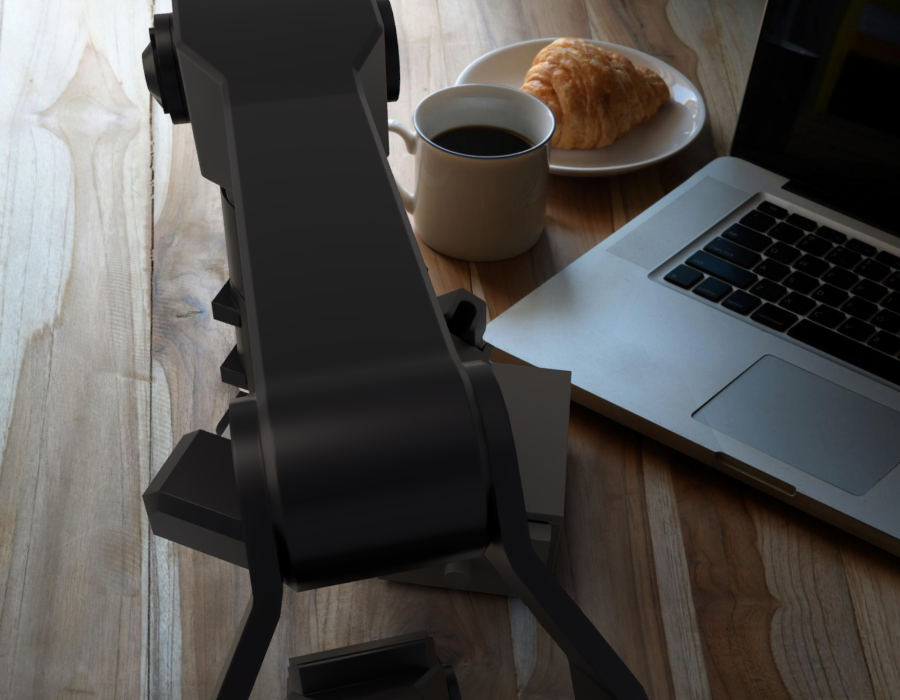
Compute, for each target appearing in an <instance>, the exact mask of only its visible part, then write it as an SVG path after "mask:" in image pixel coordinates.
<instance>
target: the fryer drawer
mask: <svg viewBox="0 0 900 700" xmlns="http://www.w3.org/2000/svg"><path fill="white" fill-rule="evenodd" d="M527 520H528V526H529V533H530V539H531V545H532V547H533V549H534V552H535V553H536V554H537V555H538V557H539V558H540V559H541V560H542V562H543V563H544V564H545V565H546V563H547V558H548V553H549V547H550V542H551V527H552V526H551V524H543V523H538V521H537V520H529V519H527ZM376 579H378V580H384V581H392V582H400V583H407V584H414V585H423V586H430V587H431V586H432V587H437V588H439V587H440V588H446V589H453V590H461V591H470V592H476V593H486V594H491V595H501V596H507V597H515V598H519V597H518V596H517V594H516V593H515V592H514V591H513V589H512V588H511V587H510V586H509V585H508V583H507V582H506V581H505V580H504V578H503V577H502V576H501V575H500V573H499V572H498V571H497V570H496V568H495V567H494V566H493V565H492V564H491V562H490V561H489V560H488V559H487V557H486V556H485V555H484V554H483V556H482V557H479V558H474V559H468V560H463V561H458V562H453V563H448V564H443V565H437V566H432V567H427V568H422V569H417V570H412V571H406V572H401V573H396V574H391V575H386V576H381V577H376Z"/></svg>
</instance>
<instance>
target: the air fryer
mask: <svg viewBox="0 0 900 700" xmlns="http://www.w3.org/2000/svg"><path fill="white" fill-rule="evenodd" d="M490 363H491V366H492V371H493V373H494V375H495V377H496V379H497V381H498V383H499V385H500V389H501V392H502V395H503V398H504V401H505V404H506V408H507V411H508V414H509V419H510V423H511V428H512V433H513V438H514V443H515V448H516V453H517V459H518V465H519V471H520V477H521V483H522V489H523V496H524V502H525V508H526V514H527V519H529V520H537V521H538V523H543V524H551V526H552V527H551V542H550V547H549V553H548V558H547V563H546V567H547V568H548V569H549V570H550V572H551V573H552V574H553V572H554V567H555V562H556V557H557V553H558V547H559V542H560V537H561V533H562V532H561V531H562V526H563V521H564V517H565V500H566V499H565V497H566V480H567V464H568V447H569V446H568V444H569V427H570V426H569V425H570V407H571V406H570V405H571V394H572V393H571V390H572V370H566V369H557V368H548V367H539V366H530V365H521V364H513V363H512V364H511V363H503V362H494V361H490Z"/></svg>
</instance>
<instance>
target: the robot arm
mask: <svg viewBox="0 0 900 700" xmlns="http://www.w3.org/2000/svg"><path fill="white" fill-rule="evenodd" d="M170 1H171V12H163V13H155V14H153V27H148V35H149V40H150V41H149V43H148V44H147V46H146V47H145V48H144V50H143V51H142V52H141V62H142V69H143V75H144V80H145V84H146V88H147V90H148V93H150V94H151V96H152V97H153V98H154V100H155V101H156V102H157V104H158V105H159V106H160V107H161V108H162V112H163V115H169V116H170V117H169V118H170V120H171V122H172V125H174V126H176V125H186V124H187V125H188V124H190V126H191V131H192V135H193V141H194V147H195V152H196V155H197V161H198V165H199V171H200V175H201V176H202V177H203V178H204V179H205V180H207V181H209V182H211V183H214V184H215V185H218V186H219V193H220V194H219V195H220V204H221V211H222V213H221V214H222V220H223V222H222V223H223V230H224V238H225V239H224V240H225V249H226V258H227V259H226V260H227V267H228V275H229V278H228V279H227V280H226V281H225V283H224V285H223V286H222V287H221V289H220V290H219V291H218V292H217V294H216V295H215V296H214V298H213V299H212V300H211V301H210V305H211V312H212V319H213V320H214V321H218V322H221V323H224V324H227V325H229V326H233V327H234V332H235V340H236V343H235V345H234V346H233V347H232V349H231V351H230V352H229V354H228V355H227V356H226V358H225V359H224V361H223V362H222V363H221V365H220V366H219V371H220V380H221V382H222V383H224V384H227V385H230V386H234V387H235V388H238V387H239V388H242V389H245V390H247V391H249V393H246V392H243V391H240V390H239V391H238V393H237V394H236V396H234V397H233V398H229V401H228V408H227V409H226V410H225V412H224V414H223V416H222V417H221V419H219V422H218V423H217V425H216V427H215V433H213V432H211V431H207V430H205V429H202V428H199V429H197V430H194V431H190V432H188V433H185V434H183V435H182V436H181V438H180V439H179V440H178V442H177V443H176V445H175V446H174V448H173V450H172V451H171V452H170V454H169V455H168V457H167V458H166V459H165V461H164V463H163V465H161V467H160V468H159V470H158V471H157V473H156V474H155V476H154V477H153V479H152V480H151V482H150V483H149V485H147V488H146V489H145V491H144V492H143V493H142V495H141V498H142V501H143V505H144V508H145V512H146V516H147V519H148V523H149V526H150V529H151V532H152V535H154V536H157V537H159V538H162V539H164V540H168V541H170V542H172V543H175V544H178V545H181V546H184V547H187V548H189V549H192V550H194V551H198V552H200V553H202V554H205V555H207V556H210V557H213V558H216V559H219V560H221V561H224V562H227V563H229V564H232V565H235V566H238V567H240V568H243V569H246V570H248V573H249V581H250V587H251V593H250V596H249V598H248V601H247V603H246V606H245V609H244V611H243V614H242V616H241V619H240V621H239V625H238V626H237V629H236V631H235V635H234V637H233V640H232V642H231V645H230V647H229V649H228V652H227V655H226V657H225V660H224V663H223V665H222V667H221V670H220V672H219V675H218V678H217V680H216V682H215V686H214V687H213V690H212V692H211V696H210V698H209V700H250V696H251V694H252V692H253V689H254V686H255V684H256V681H257V678H258V676H259V674H260V671H261V669H262V666H263V663H264V660H265V658H266V655H267V652H268V650H269V647H270V645H271V643H272V639H273V637H274V635H275V632H276V629H277V627H278V624H279V621H280V619H281V613H282V605H283V599H284V597H283V596H284V586H285V585H286V587H289V588H290V589H291V590H293V592H296V593H303V592H308V591H313V590H318V589H323V588H329V587H334V586H338V585H345V584H349V583H355V582H360V581H364V580H369V579H375V578H377V577H381V576H386V575H391V574H396V573H401V572H406V571H412V570H417V569H422V568H427V567H432V566H437V565H443V564H448V563H453V562H458V561H463V560H468V559H474V558H479V557H482V556H483V554H484V555H485V556H486V557H487V559H488V560H489V561H490V562H491V564H492V565H493V566H494V567H495V568H496V570H497V571H498V572H499V573H500V575H501V576H502V577H503V578H504V580H505V581H506V582H507V583H508V585H509V586H510V587H511V588H512V589H513V591H514V592H515V593H516V594H517V596H518V597H517V598H518V599H520V601H521V602H522V603H523V605H524V606H525V607H526V608H527V610H528V611H529V612H530V613H531V614H532V616H533V617H534V618H535V619H536V621H537V622H538V623H539V624H540V625H541V627H542V628H543V629H544V631H545V632H546V633H547V634H548V635H549V636H550V638H551V639H552V640H553V641H554V643H555V644H556V645H557V647H558V648H559V649H560V650H561V652H562V653H563V654H564V655H565V657H566V659H567V661H568V667H569V672H570V679H571V686H572V691H573V699H574V700H650V699H649V697H648V694H647V693H646V690H645V687H644V686H643V685H642V683H641V682H640V681H639V680H638V678H637V677H636V676H635V674H634V673H633V672H632V670H630V669H629V667H628V666H627V664H625V662H624V661H623V659H622V658H621V657H620V656H619V654H618V653H617V652H616V650H614V648H613V647H612V646H611V645H610V643H609V642H608V641H607V639H606V638H605V637H604V636H603V635H602V634H601V632H600V631H599V630H598V629H597V627H596V626H595V624H593V622H592V621H591V619H589V618H588V616H587V614H585V613H584V611H583V610H582V609H581V608H580V606H579V605H578V603H576V601H575V600H574V599H573V598H572V596H571V595H570V594H569V592H568V591H567V590H566V589H565V588H564V587H563V585H562V584H561V582H560V581H559V580H558V579H557V578H556V576H555V575H554V574H553V573H551V572H550V570H549V569H548V568H547V567H546V565H545V564H544V563H543V562H542V560H541V559H540V558H539V557H538V555H537V554H536V553H535V552H534V549H533V547H532V545H531V539H530V533H529V526H528V520H527V514H526V508H525V502H524V496H523V489H522V483H521V477H520V471H519V465H518V459H517V453H516V448H515V443H514V438H513V433H512V428H511V423H510V419H509V414H508V411H507V408H506V404H505V401H504V398H503V395H502V392H501V389H500V385H499V383H498V381H497V379H496V377H495V375H494V373H493V371H492V366H491V363H490V362H491V361H490V359H491V357H492V352H493V350H494V348H495V346H494V345H493V344H491V343H490V342H488V341H486V343H485V344H484V335H485V333H486V330H487V310H488V309H487V308H488V305H487V302H486V301H485V300H484V299H482V298H481V297H479V296H477V295H475V294H474V293H473V292H470V291H469V290H467V289H466V288H464V287H460V288H457V289H454V290H452V291H448V292H446V293H443V294H441V295H437V293H436V291H435V288H434V285H433V282H432V279H431V276H430V273H429V267H428V266H427V265H426V263H425V259H424V256H423V254H422V251H421V248H420V246H419V243H418V240H417V237H416V235H415V232H414V228H413V226H412V224H411V221H410V218H409V216H408V213H407V210H406V207H405V204H404V202H403V198H402V196H401V193H400V190H399V187H398V184H397V182H396V178H395V175H394V173H393V170H392V168H391V164H390V162H389V159H388V157H390V134H389V133H390V132H389V129H390V128H389V109H388V107H389V105H388V104H389V103H396V102H398V100H399V99H400V93H401V60H400V50H399V49H400V48H399V39H398V32H397V25H396V21H395V20H396V19H395V15H394V10H393V8H392V3H391V1H390V0H170ZM239 388H238V389H239ZM284 584H285V585H284ZM286 669H287V674H288V676H287V678H286V695H285V699H284V700H463V699H462V698H463V697H462V694H461V690H460V685H459V681H458V678H457V674H456V671H455V669H454V667H453V665H452V664H451V663H450V664H446V665H444V663H443V661H442V660H441V658H440V656H439V654H438V653H437V649H436V643H435V637H434V636H429V634H428V632H427V629H424V630H418V631H415V632H414V631H413V632H409V633H403V634H400V635H395V636H389V637H385V638H379V639H374V640H370V641H365V642H361V643H356V644H351V645H350V644H349V645H345V646H340V647H336V648H332V649H326V650H321V651H316V652H312V653H307V654H303V655H297V656H291V657H289V658H288V666H287V668H286Z"/></svg>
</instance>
